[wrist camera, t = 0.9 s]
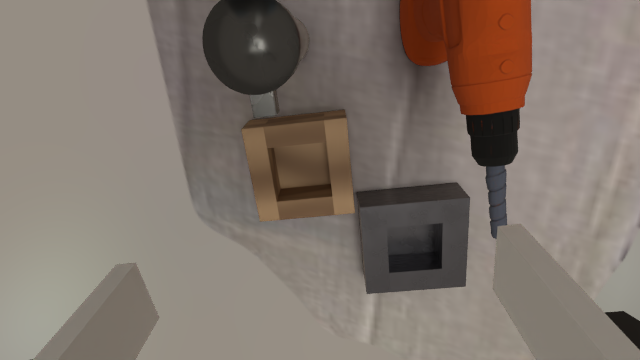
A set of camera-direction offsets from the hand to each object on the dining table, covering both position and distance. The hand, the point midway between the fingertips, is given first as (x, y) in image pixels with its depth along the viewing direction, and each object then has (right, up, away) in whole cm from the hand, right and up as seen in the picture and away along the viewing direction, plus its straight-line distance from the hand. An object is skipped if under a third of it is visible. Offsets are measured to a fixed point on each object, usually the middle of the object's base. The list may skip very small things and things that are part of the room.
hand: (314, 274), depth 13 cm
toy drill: (+10, +13, +18) cm, 25 cm away
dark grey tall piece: (-3, +16, +18) cm, 24 cm away
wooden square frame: (-1, +5, +22) cm, 22 cm away
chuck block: (+10, -2, +24) cm, 26 cm away
